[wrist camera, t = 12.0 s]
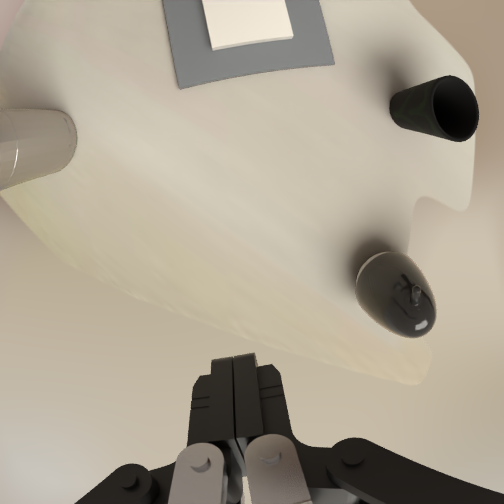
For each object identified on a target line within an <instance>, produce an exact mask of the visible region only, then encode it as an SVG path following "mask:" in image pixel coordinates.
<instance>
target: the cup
mask: <svg viewBox="0 0 504 504" xmlns="http://www.w3.org/2000/svg"><path fill="white" fill-rule="evenodd" d="M390 114H391V117H392V119H393V120H394V122H395V123H396V124H397V125H398V126H400V127H401V128H404V129H408V130H413V131H417V132H421V133H425V134H429V135H433V136H436V137H440V138H444V139H447V140H451V141H454V142H462V141H466V140H467V139H469V138H471V136H472V135H473V134H474V133H475V130H476V128H477V125H478V120H479V109H478V104H477V100H476V97H475V95H474V93H473V91H472V90H471V88H470V87H469V86H468V85H467V84H466V83H465V82H464V81H463V80H462V79H460V78H458V77H455V76H451V75H449V76H443V77H440V78H437V79H434V80H431V81H428V82H426V83H423V84H420V85H417V86H414V87H412V88H409V89H406V90H404V91H401V92H398V93H396V94H395V95H394V96H393V97H392V99H391V101H390Z"/></svg>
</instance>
